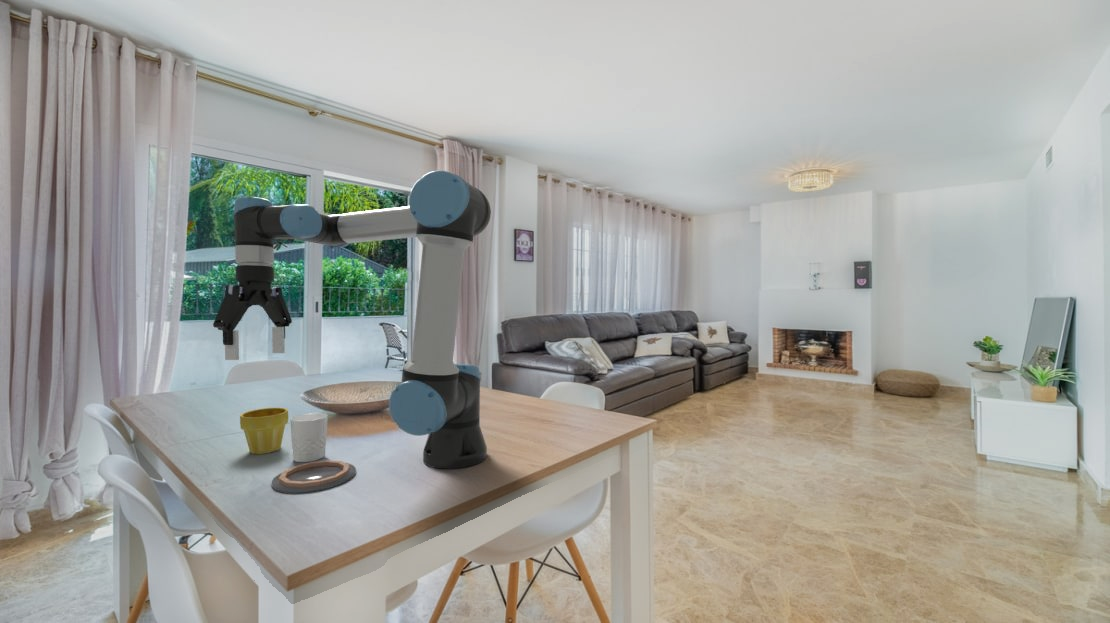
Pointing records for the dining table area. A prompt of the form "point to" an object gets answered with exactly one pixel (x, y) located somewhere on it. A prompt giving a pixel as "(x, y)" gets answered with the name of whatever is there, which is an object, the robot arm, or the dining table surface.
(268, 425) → the plant pot
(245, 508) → the dining table surface
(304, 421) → the white cup
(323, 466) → the trivet
